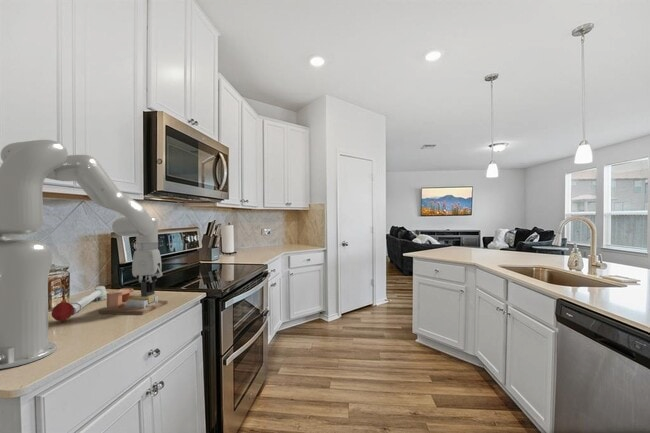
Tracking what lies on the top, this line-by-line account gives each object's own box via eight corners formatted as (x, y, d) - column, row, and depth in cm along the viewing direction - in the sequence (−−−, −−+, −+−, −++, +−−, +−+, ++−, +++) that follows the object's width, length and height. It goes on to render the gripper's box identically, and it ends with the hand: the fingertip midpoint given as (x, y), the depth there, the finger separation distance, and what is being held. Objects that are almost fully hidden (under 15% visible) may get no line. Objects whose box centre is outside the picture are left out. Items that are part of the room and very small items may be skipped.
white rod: (60, 306, 105) (96, 283, 129) (62, 323, 106) (98, 296, 130) (76, 305, 106) (109, 282, 130) (78, 321, 107) (110, 295, 131)
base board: (142, 314, 106) (142, 311, 106) (98, 313, 108) (98, 310, 108) (167, 303, 119) (167, 300, 119) (128, 302, 122) (128, 299, 122)
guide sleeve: (144, 308, 109) (143, 301, 109) (125, 308, 110) (125, 300, 110) (158, 302, 117) (158, 295, 117) (141, 302, 117) (140, 295, 118)
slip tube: (147, 304, 111) (147, 281, 111) (127, 303, 112) (126, 281, 112) (155, 300, 115) (155, 279, 115) (135, 300, 116) (135, 279, 116)
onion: (54, 326, 95) (54, 303, 95) (49, 323, 98) (49, 300, 98) (76, 320, 100) (76, 298, 100) (70, 317, 103) (70, 296, 103)
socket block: (118, 308, 110) (117, 293, 110) (106, 307, 111) (106, 293, 111) (133, 302, 118) (133, 288, 118) (123, 301, 118) (123, 288, 118)
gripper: (122, 248, 110) (122, 293, 110) (158, 248, 108) (159, 294, 108) (136, 246, 118) (137, 288, 118) (171, 246, 116) (172, 289, 116)
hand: (147, 291), depth 113 cm, fingers closed on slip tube, 2 cm apart
